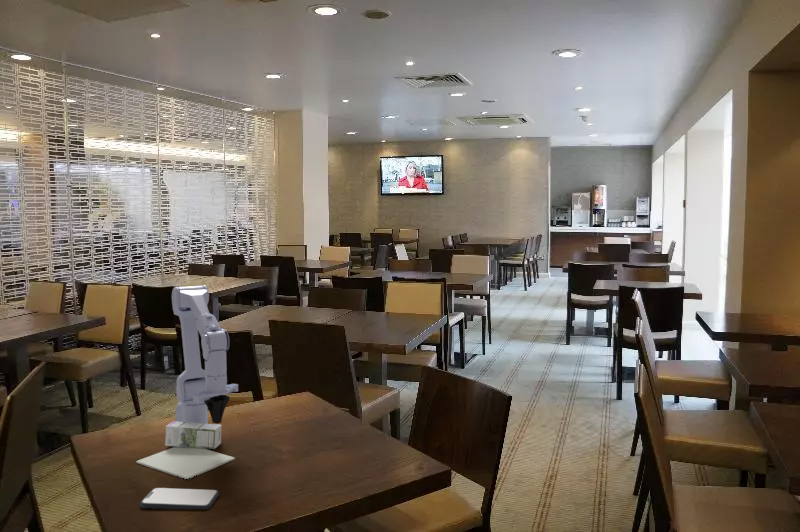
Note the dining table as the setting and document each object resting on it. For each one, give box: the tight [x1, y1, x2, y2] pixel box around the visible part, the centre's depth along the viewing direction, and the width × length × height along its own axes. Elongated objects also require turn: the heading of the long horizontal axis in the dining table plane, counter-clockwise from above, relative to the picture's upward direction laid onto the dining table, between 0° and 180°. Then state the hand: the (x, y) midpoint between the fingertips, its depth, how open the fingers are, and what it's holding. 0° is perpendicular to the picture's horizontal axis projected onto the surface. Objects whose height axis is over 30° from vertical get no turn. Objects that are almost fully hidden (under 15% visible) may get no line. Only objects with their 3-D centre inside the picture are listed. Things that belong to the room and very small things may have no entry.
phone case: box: [140, 487, 220, 510], centre depth 155 cm, size 9×2×16 cm
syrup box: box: [164, 420, 223, 450], centre depth 189 cm, size 6×6×14 cm
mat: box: [135, 446, 236, 480], centre depth 179 cm, size 20×16×1 cm
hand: (216, 422), depth 185 cm, fingers closed
